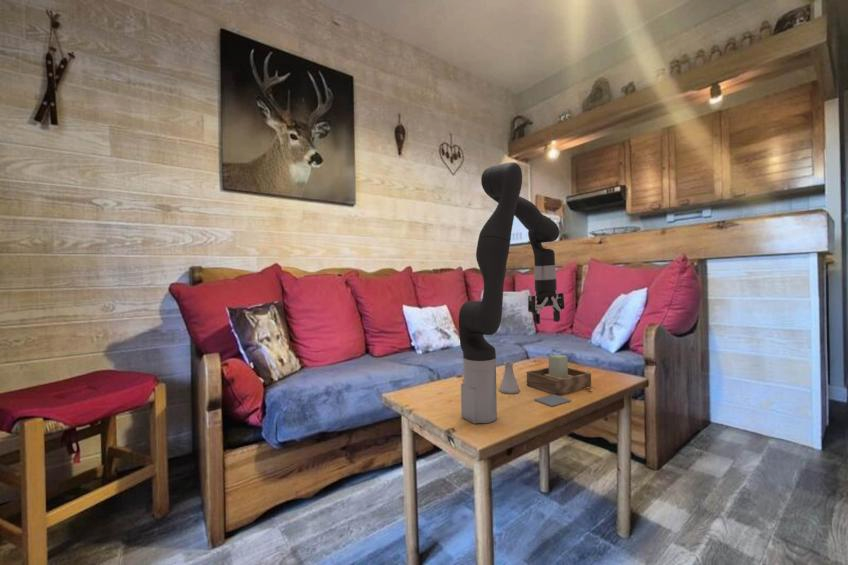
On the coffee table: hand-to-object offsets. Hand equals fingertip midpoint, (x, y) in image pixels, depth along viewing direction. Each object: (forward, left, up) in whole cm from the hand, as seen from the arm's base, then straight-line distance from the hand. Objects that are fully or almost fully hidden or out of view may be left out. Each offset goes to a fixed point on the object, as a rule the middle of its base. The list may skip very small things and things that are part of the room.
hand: (547, 322), depth 131 cm
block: (+2, -3, -19) cm, 19 cm away
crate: (+2, -3, -23) cm, 23 cm away
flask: (-16, +3, -23) cm, 28 cm away
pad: (-12, -12, -23) cm, 29 cm away
